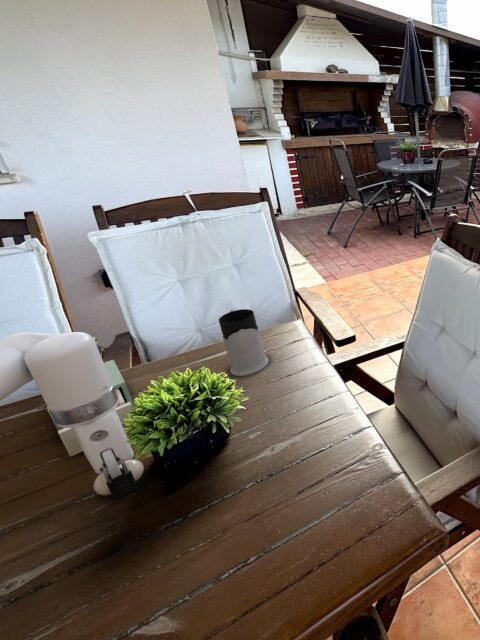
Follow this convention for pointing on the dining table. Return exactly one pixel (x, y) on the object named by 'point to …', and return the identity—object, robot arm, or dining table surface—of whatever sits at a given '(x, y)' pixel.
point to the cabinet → (117, 383)
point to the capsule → (131, 465)
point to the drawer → (69, 437)
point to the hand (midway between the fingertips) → (122, 484)
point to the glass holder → (243, 342)
